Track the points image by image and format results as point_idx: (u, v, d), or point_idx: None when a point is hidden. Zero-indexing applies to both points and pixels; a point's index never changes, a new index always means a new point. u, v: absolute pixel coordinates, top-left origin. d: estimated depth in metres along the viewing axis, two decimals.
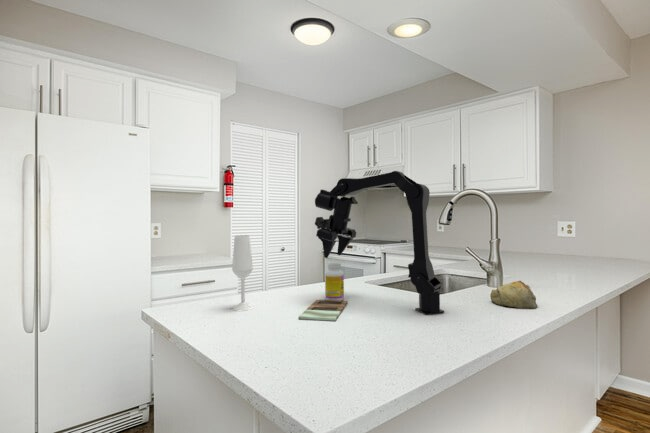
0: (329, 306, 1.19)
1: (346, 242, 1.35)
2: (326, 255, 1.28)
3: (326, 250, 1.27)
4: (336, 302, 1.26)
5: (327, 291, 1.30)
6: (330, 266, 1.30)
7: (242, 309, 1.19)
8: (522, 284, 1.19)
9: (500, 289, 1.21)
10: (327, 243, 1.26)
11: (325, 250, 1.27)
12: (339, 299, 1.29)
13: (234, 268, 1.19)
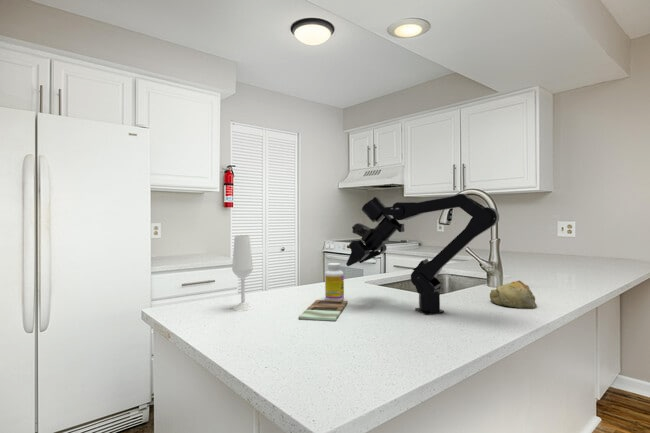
0: (329, 306, 1.19)
1: (372, 255, 1.29)
2: (349, 264, 1.23)
3: (351, 260, 1.22)
4: (336, 302, 1.26)
5: (327, 291, 1.30)
6: (330, 266, 1.30)
7: (242, 309, 1.19)
8: (521, 284, 1.19)
9: (499, 289, 1.22)
10: (355, 255, 1.21)
11: (350, 260, 1.22)
12: (339, 299, 1.29)
13: (234, 268, 1.19)
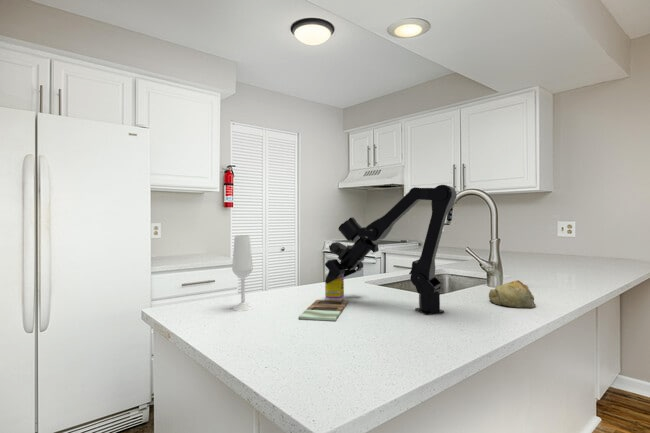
0: (329, 306, 1.19)
1: (348, 273, 1.33)
2: (327, 281, 1.29)
3: (329, 278, 1.28)
4: (336, 302, 1.26)
5: (327, 291, 1.30)
6: None
7: (242, 309, 1.19)
8: (520, 284, 1.20)
9: (498, 289, 1.22)
10: None
11: (328, 277, 1.28)
12: (339, 299, 1.29)
13: (234, 268, 1.19)
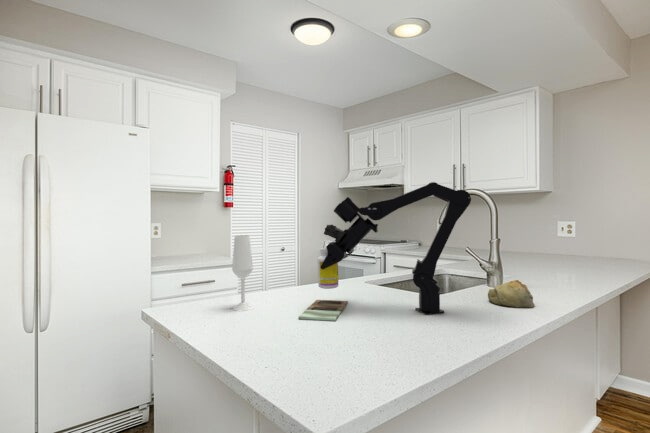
0: (329, 306, 1.19)
1: None
2: (323, 267, 1.18)
3: (326, 263, 1.17)
4: (336, 302, 1.26)
5: (322, 278, 1.19)
6: (325, 251, 1.19)
7: (242, 309, 1.19)
8: (519, 283, 1.20)
9: (497, 289, 1.22)
10: (331, 257, 1.17)
11: (325, 262, 1.17)
12: (335, 286, 1.20)
13: (234, 268, 1.19)
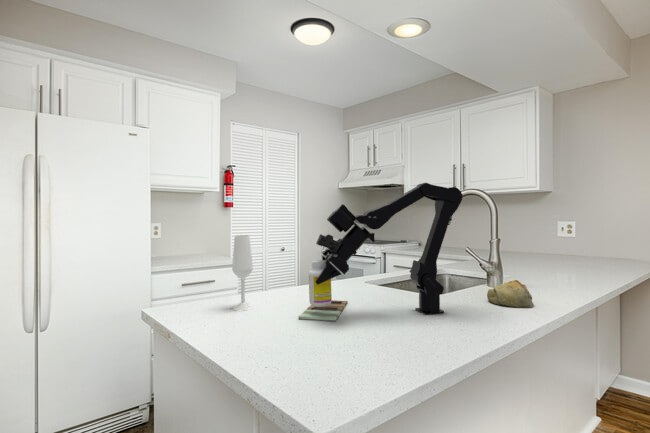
0: (329, 306, 1.19)
1: None
2: (319, 281, 1.06)
3: (324, 277, 1.06)
4: (336, 302, 1.26)
5: (317, 295, 1.07)
6: (319, 264, 1.08)
7: (242, 309, 1.19)
8: (518, 283, 1.20)
9: (497, 288, 1.22)
10: (330, 270, 1.06)
11: (322, 276, 1.06)
12: (330, 302, 1.09)
13: (234, 268, 1.19)
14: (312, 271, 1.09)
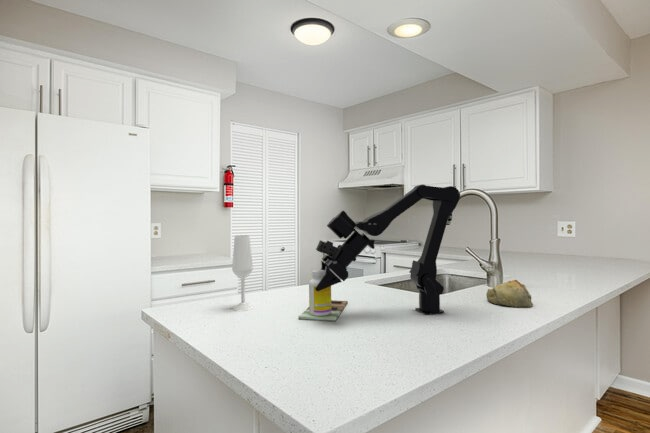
0: None
1: None
2: (319, 288, 1.05)
3: (324, 284, 1.05)
4: (336, 302, 1.26)
5: (317, 304, 1.07)
6: (319, 274, 1.08)
7: (242, 309, 1.19)
8: (518, 283, 1.21)
9: (496, 288, 1.23)
10: (330, 277, 1.05)
11: (322, 283, 1.05)
12: (330, 312, 1.09)
13: (234, 268, 1.19)
14: (312, 281, 1.09)
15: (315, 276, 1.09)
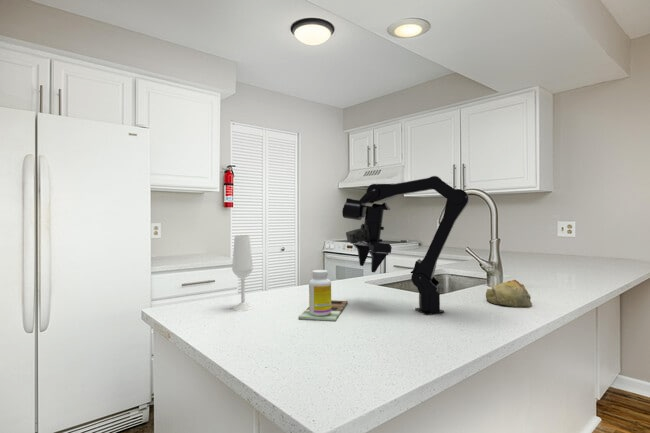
0: None
1: (367, 250, 1.27)
2: (375, 269, 1.17)
3: (376, 264, 1.17)
4: (336, 302, 1.26)
5: (317, 304, 1.07)
6: (320, 274, 1.08)
7: (242, 309, 1.19)
8: (517, 283, 1.21)
9: (495, 288, 1.23)
10: (377, 256, 1.16)
11: (375, 264, 1.17)
12: (330, 312, 1.09)
13: (234, 268, 1.19)
14: (312, 281, 1.09)
15: (315, 276, 1.09)
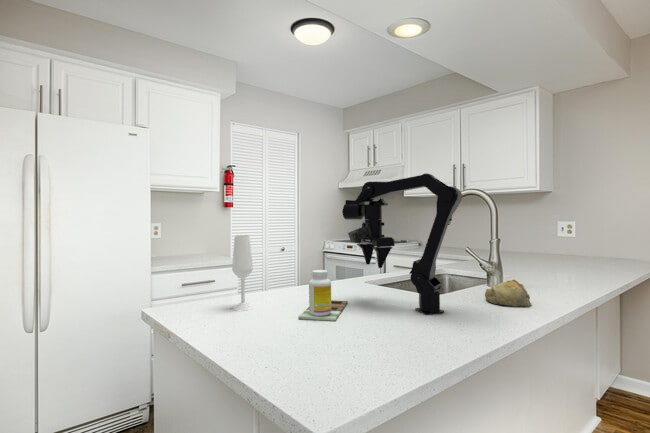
0: None
1: (372, 248, 1.29)
2: (381, 265, 1.19)
3: (382, 259, 1.18)
4: (336, 302, 1.26)
5: (317, 304, 1.07)
6: (319, 274, 1.08)
7: (242, 309, 1.19)
8: (516, 283, 1.21)
9: (495, 288, 1.23)
10: (382, 251, 1.18)
11: (380, 260, 1.18)
12: (330, 312, 1.09)
13: (234, 268, 1.19)
14: (312, 281, 1.09)
15: (315, 276, 1.09)
